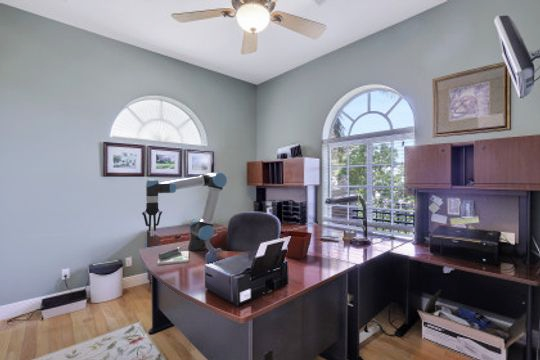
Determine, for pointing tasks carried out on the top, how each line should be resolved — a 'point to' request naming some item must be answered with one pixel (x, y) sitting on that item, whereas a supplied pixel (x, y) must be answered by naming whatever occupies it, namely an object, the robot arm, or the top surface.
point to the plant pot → (297, 243)
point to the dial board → (175, 258)
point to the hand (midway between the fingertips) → (152, 235)
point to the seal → (211, 251)
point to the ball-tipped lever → (170, 253)
